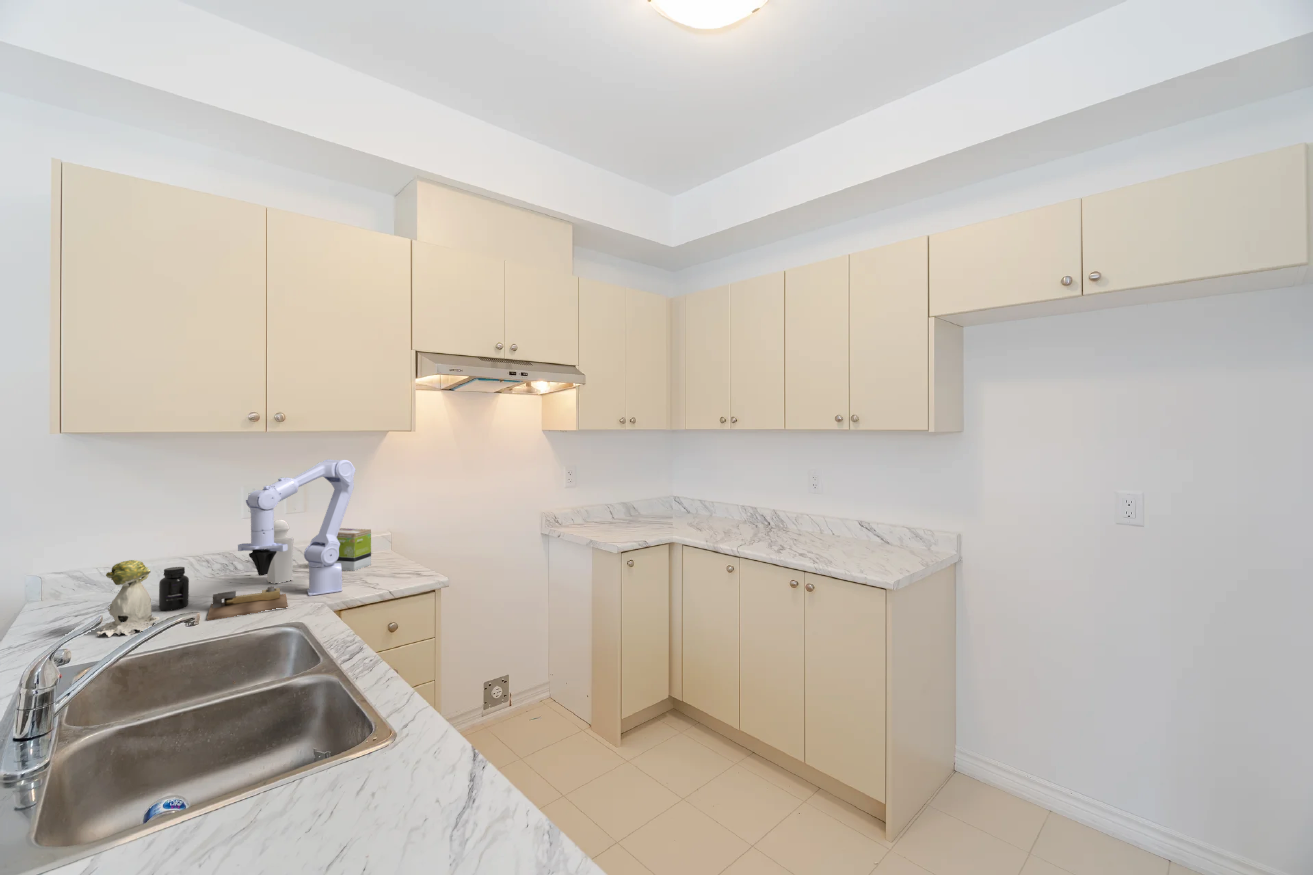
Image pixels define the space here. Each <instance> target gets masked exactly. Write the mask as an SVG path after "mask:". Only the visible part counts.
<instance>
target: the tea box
mask: <svg viewBox="0 0 1313 875" xmlns="http://www.w3.org/2000/svg"><path fill="white" fill-rule="evenodd" d="M337 539H338V541H339V543H340V546H339V557H338V559H337V561H336V562H335V563H341V568H342V571H349V570H352V571H351V572H355V570H356V571H359V570H361V568H362V569H363V567H364V568H367V567H370V566H372V529H371V528H370V529H366V528H348V527H347V528H346V527H345V528H344V527H340V529H339V532H338V535H337ZM369 565H370V566H369ZM366 566H367V567H366ZM358 569H359V570H358Z"/></svg>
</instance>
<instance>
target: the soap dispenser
mask: <svg viewBox="0 0 1313 875" xmlns="http://www.w3.org/2000/svg"><path fill="white" fill-rule="evenodd" d="M289 530H290V526H289V523H288V522H287V521H286V520H284V519H276V520H274V543H280V544H288V550H287V551H283V552H280V551H277V552H276V554H275V556H274V557H273V559H272V561H271V564H270V567H269V570H268V574H266V575H267V576H266V577H267V583H269V582H272V583H271V584H273V583H278V584H280V583H279V582H283V583H287V582H286V581H288V582H291V581H290V580H292V581H293V567H294V566H293V562H294V538H293V536H288V532H289Z"/></svg>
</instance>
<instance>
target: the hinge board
mask: <svg viewBox="0 0 1313 875" xmlns="http://www.w3.org/2000/svg"><path fill="white" fill-rule="evenodd" d="M274 588H275V586H272V585H271V586H267V589H268V592H270V591H274ZM236 592H237V591H236V590H233V591H231V590H230V591H223V592H217V593H215V594H212V603H211V604H210V607H209V610H208V614H207V618H206V621H207V622H208V621H209V622H210V621H215V620H222V619H227V617H229V618H234V616H236V617H238V616H237V615H242V616H248V615H247V614H249V615H251V614H250V613H255V614H259V613H258V612H261V611H265V610H272V609H276V608H286V607H288V608H289V604H288V599H287V593H280V598H278V599H273V600H263V601H262V600H259V601H251V602H244V603H236V604H231V605H224V601H222V600H224V599H226V598H234V597H235V596H237V593H236Z"/></svg>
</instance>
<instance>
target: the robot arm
mask: <svg viewBox="0 0 1313 875" xmlns="http://www.w3.org/2000/svg"><path fill="white" fill-rule="evenodd" d="M356 471H357V469H356V468H355V466H354V465H353V463H352V462H351V461H350V460H347V459H330V458H329V459H328V458H327V459H324V460H323V461H320V462H318V463H316V464H315V465H314V466H312V467H310V468H308V469H306V470H304V471H303V472H301V473H299V474H297V475H295V476H294V477H292V478H291V477H287V476H286V477H279V478H277V481H275V482H274V483H272V484H270V485H267V484H266V485H264V486H263V489H262V490H261V489H256V490H253V491H252V492H250V493H249V495H248V497H247V499H245V503H246V505H247V507H248V508H249V510H250V511H249V512H250V543H240V544H237V551H238V552H242V551H243V552H244V551H245V552H246V551H247V552H249V551H250V552H251V553H248V556H249V557H250V559H251V560H252V562H253V564H254V565H255V568H256V571H257V575H258V576H265V575H267V574H268V570H269V567H270V564H271V561H272V559H273V557H274V556H275V554H276V552H277V551H280V552H283V551H287V550H288V544H280V543H274V521H275V519H274V518H275V510H274V509H275V508H276V507H277V505H278V504H279V503H280V502H282V501H283V500H285V499H288V498H289V497H291V496H293V495H295V494H296V493H298V490H299V488H300V487H302V486H305V485H307V484H309V483H311V482H312V481H315V480H317V479H319V478H322V477H323V478H324V479H326V481H328V482H329V483H330V484H331V485H332V487H333V493H332V494H331V495H332V496H331V498H330V501H329V502H328V503H329V504H328V506H327V509H326V511H325V515H324V517H323V520H322V524H321V525H320V529H319V531H318V533H317V534H316V535H315V536H314V537H313V538H312V539H311V541H310V543H309V545H307V547H306V548H305V549H304V552H303V557H304V559H305V561H306V562H308V564H307V565H308V582H309V583H308V585H309V586H308V587H309V588H307V589H306V591H307V594H308V596H309V597H310V596H317V595H323V594H332V593H337V592H338V593H339V592H342V591H343V578H342V577H343V575H342V574H343V570H342V568H341V563H335V562H336V561H337V559H338V557H339V546H340V543H339V541H338V539H337V535H338V532H339V529H340V528H341V526H342V523H343V520H344V518H345V514H346V511H347V508H348V506H349V503H350V501H351V500H350V499H351V497H352V494H353V491H354V488H355V484H354V483H355V482H354V477H355V474H356V473H355V472H356Z"/></svg>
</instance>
